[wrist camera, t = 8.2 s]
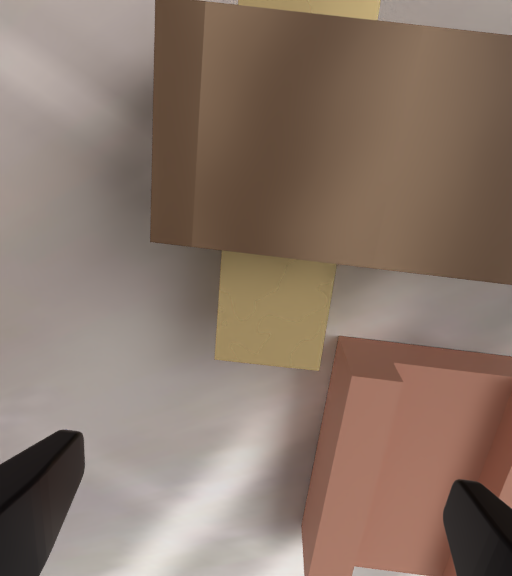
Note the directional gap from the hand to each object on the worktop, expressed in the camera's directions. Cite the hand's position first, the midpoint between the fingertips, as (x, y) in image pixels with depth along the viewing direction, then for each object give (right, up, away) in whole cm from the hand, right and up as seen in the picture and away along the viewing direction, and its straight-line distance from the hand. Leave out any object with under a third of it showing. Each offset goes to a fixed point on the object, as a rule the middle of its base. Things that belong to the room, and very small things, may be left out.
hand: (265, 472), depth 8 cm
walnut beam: (+4, +9, +8) cm, 13 cm away
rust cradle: (+8, -5, +13) cm, 16 cm away
